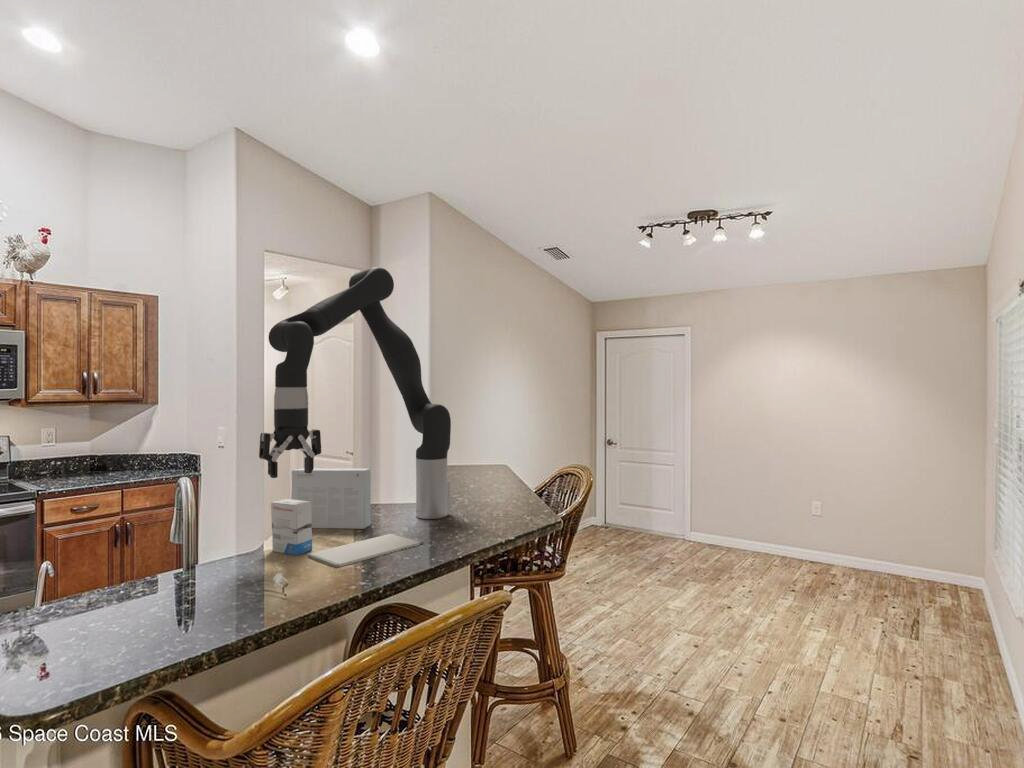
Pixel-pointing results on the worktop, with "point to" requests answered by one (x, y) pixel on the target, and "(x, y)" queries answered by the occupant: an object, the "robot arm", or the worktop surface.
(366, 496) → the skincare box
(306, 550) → the ink box
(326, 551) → the mat
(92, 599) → the worktop surface
